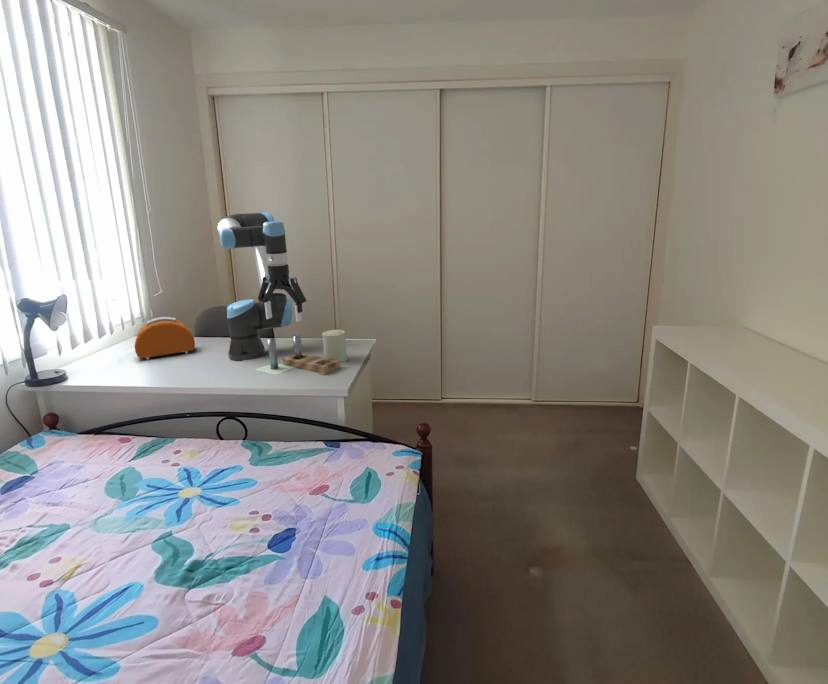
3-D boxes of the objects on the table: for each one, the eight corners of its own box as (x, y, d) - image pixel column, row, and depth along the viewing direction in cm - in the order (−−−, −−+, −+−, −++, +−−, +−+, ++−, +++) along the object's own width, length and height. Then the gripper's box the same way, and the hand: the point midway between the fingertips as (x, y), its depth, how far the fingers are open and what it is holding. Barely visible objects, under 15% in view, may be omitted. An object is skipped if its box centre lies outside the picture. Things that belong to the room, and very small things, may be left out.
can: (342, 363, 207) (340, 334, 203) (321, 363, 209) (318, 334, 205) (350, 356, 215) (348, 328, 212) (329, 356, 217) (326, 328, 214)
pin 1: (269, 368, 203) (265, 339, 200) (275, 366, 205) (271, 337, 202) (274, 370, 201) (270, 340, 198) (280, 367, 204) (276, 338, 200)
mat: (254, 370, 203) (254, 369, 203) (274, 363, 211) (274, 362, 211) (275, 375, 196) (275, 374, 196) (295, 367, 204) (294, 367, 204)
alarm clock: (195, 347, 237) (189, 312, 232) (196, 352, 229) (190, 316, 224) (138, 356, 228) (130, 319, 223) (137, 362, 220) (129, 323, 215)
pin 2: (294, 364, 208) (291, 336, 204) (299, 362, 210) (296, 334, 207) (299, 366, 206) (296, 337, 203) (305, 363, 208) (302, 335, 205)
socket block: (283, 366, 207) (282, 358, 206) (300, 359, 214) (299, 352, 213) (324, 374, 195) (323, 367, 194) (340, 367, 202) (339, 360, 201)
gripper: (243, 264, 194) (251, 319, 200) (300, 267, 185) (306, 324, 191) (256, 261, 200) (263, 314, 207) (312, 263, 191) (317, 319, 198)
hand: (283, 319), depth 199 cm, fingers open, 13 cm apart
